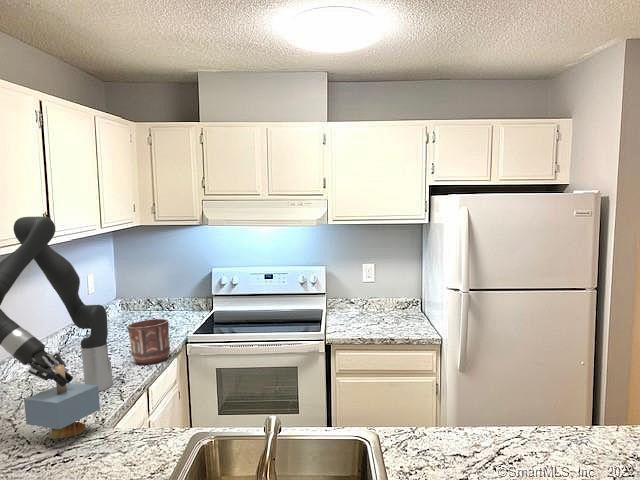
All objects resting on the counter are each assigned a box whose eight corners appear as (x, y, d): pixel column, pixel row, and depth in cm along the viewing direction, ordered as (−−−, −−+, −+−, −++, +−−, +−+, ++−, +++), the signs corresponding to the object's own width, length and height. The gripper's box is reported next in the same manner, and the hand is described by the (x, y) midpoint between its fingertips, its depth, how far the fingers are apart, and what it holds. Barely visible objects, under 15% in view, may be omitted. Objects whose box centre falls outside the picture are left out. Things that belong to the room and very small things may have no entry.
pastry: (87, 426, 148) (86, 414, 148) (83, 435, 142) (82, 423, 142) (54, 432, 146) (53, 420, 145) (49, 442, 139) (47, 429, 139)
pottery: (154, 353, 230) (151, 317, 229) (179, 356, 221) (175, 319, 220) (123, 365, 215) (119, 326, 214) (148, 368, 206) (144, 328, 205)
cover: (68, 405, 150) (63, 358, 150) (100, 409, 145) (95, 360, 144) (26, 424, 138) (21, 372, 137) (59, 429, 132) (54, 375, 132)
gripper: (17, 342, 133) (64, 380, 134) (44, 331, 147) (87, 366, 148) (0, 362, 133) (47, 400, 134) (28, 349, 147) (71, 383, 148)
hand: (68, 382), depth 141 cm, fingers closed on cover, 2 cm apart
